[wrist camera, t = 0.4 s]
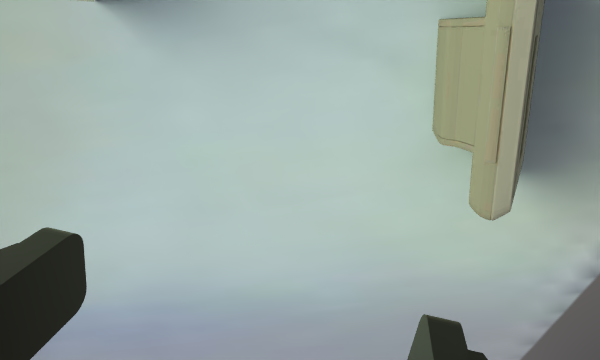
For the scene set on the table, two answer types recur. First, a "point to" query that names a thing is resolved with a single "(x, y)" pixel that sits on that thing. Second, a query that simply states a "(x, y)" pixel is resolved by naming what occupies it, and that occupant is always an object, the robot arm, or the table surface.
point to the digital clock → (488, 95)
